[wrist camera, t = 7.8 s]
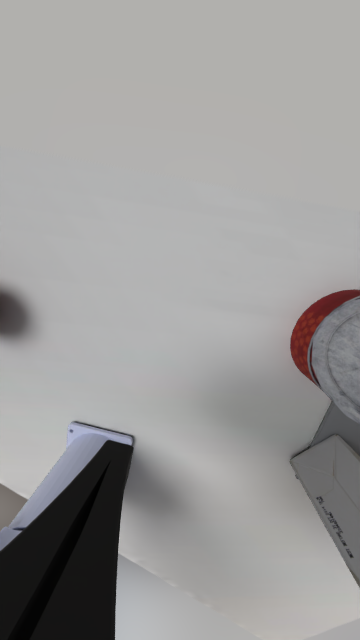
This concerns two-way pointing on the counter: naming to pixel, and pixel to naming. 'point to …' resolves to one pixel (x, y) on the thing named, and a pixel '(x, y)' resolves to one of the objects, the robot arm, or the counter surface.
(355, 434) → the mat
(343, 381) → the canned food
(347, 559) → the coffee box
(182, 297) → the counter surface
